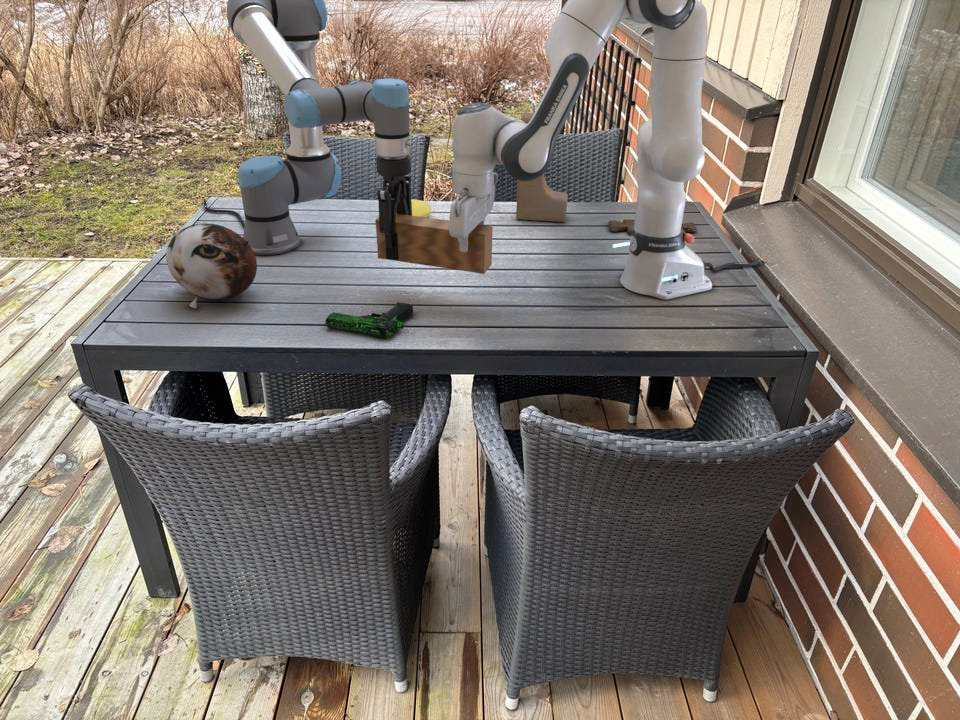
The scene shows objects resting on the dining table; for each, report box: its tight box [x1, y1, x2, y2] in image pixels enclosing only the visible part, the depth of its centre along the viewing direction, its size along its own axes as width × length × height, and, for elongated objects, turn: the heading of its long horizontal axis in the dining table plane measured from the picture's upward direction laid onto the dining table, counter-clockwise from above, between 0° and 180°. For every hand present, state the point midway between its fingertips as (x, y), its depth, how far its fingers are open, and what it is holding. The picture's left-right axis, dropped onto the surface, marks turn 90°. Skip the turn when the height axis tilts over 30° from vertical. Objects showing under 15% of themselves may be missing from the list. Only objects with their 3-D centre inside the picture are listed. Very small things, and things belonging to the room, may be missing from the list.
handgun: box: [324, 301, 414, 339], centre depth 158 cm, size 16×3×15 cm
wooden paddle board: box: [607, 219, 697, 235], centre depth 211 cm, size 26×2×10 cm
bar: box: [375, 214, 494, 275], centre depth 164 cm, size 26×6×9 cm, turn 72°
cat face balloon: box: [165, 222, 258, 309], centre depth 165 cm, size 22×18×20 cm
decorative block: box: [515, 112, 568, 223], centre depth 212 cm, size 8×15×30 cm, turn 82°
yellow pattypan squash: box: [396, 198, 433, 218], centre depth 215 cm, size 16×16×7 cm
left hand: (397, 253), depth 168 cm, fingers closed on bar, 6 cm apart
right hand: (471, 243), depth 161 cm, fingers open, 8 cm apart
